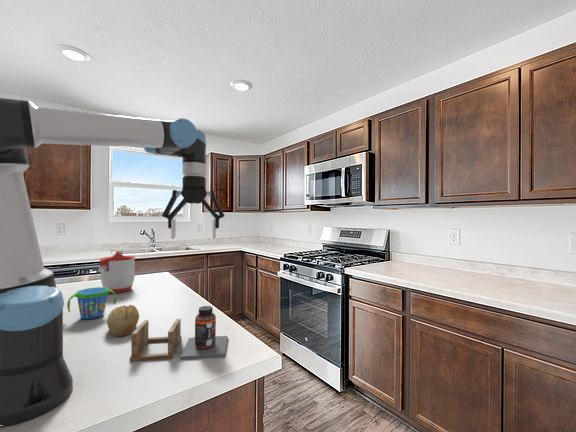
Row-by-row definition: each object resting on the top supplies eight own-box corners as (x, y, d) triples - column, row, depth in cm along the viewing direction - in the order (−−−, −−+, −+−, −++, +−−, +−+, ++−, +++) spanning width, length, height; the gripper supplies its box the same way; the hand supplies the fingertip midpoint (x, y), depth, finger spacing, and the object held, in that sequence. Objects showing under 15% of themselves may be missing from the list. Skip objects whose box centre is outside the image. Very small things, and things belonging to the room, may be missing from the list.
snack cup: (115, 309, 119) (115, 284, 119) (116, 316, 111) (116, 290, 110) (68, 316, 111) (68, 290, 111) (65, 325, 102) (65, 296, 102)
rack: (171, 358, 79) (171, 333, 79) (129, 361, 78) (129, 335, 78) (181, 339, 92) (181, 317, 91) (145, 340, 90) (145, 318, 90)
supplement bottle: (215, 349, 83) (215, 310, 83) (193, 351, 82) (194, 311, 82) (215, 340, 89) (216, 303, 89) (195, 341, 88) (196, 305, 88)
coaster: (224, 356, 81) (224, 353, 81) (180, 359, 79) (180, 356, 79) (227, 338, 92) (227, 335, 92) (189, 340, 91) (189, 337, 91)
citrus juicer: (89, 293, 141) (89, 253, 141) (121, 285, 157) (121, 249, 157) (110, 297, 135) (110, 255, 135) (142, 288, 151) (142, 251, 151)
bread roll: (137, 319, 108) (137, 298, 108) (141, 334, 95) (141, 310, 95) (106, 325, 103) (107, 303, 103) (107, 341, 90) (107, 315, 90)
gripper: (231, 178, 104) (231, 237, 104) (159, 176, 100) (159, 237, 100) (230, 175, 96) (230, 238, 96) (152, 174, 93) (152, 239, 93)
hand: (194, 238), depth 98 cm, fingers open, 13 cm apart
